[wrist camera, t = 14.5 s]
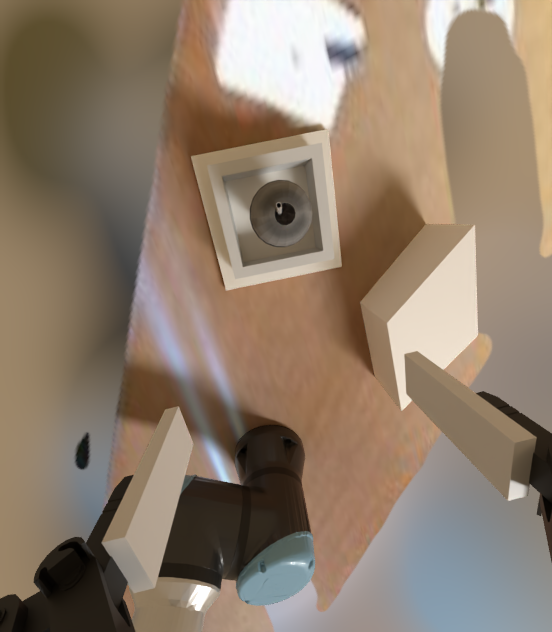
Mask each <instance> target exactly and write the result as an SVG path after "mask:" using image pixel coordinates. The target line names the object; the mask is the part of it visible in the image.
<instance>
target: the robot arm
mask: <svg viewBox="0 0 552 632" xmlns="http://www.w3.org/2000/svg"><path fill="white" fill-rule="evenodd" d="M404 359H405V378H406V394H407V395H408V396H409V397H410V398H411V399H412V400H413V402H414V403H415V404H416V405H417V406H418V407H419V408H420V409H421V410H422V411H423V412H424V413H425V414H426V415H427V416H428V417H429V418H430V419H431V420H432V421H433V423H434V424H435V425H436V426H437V427H438V428H439V429H440V430H441V431H442V432H443V433H444V434H445V435H446V436H447V437H448V438H449V439H450V440H451V441H452V442H453V443H454V445H455V446H456V447H457V448H458V449H459V450H460V451H461V452H462V453H463V454H464V455H465V456H466V457H467V458H468V459H469V460H470V461H471V462H472V464H473V465H475V467H476V468H477V469H478V470H479V471H480V472H481V473H482V474H483V475H484V476H485V477H486V478H487V479H488V480H489V481H490V482H491V483H492V484H493V485H494V487H495V488H496V489H497V490H498V491H499V492H500V493H501V494H502V495H503V496H504V497H505V498H506V499H507V500H508V501H509V500H513V499H517V498H521V497H525V496H528V492H529V485H530V484H531V485H532V486H533V487H534V488H535V489H537V491H538V492H540V497H539V503H538V509H537V515H539V516H541V514H542V516H543V521H544V526H545V531H546V535H547V541H548V546H549V551H550V556H551V561H552V433H550V432H549V431H547V430H546V429H544V428H543V427H541V426H540V425H538V424H537V423H535V422H534V421H532V420H531V419H529V418H528V417H526V416H525V415H523V414H522V413H519V411H517V410H516V409H515V408H513V407H510V406H509V404H507V403H506V402H504V401H502V400H501V399H500V398H498V397H496V396H493V395H491V394H489V393H486V392H484V391H483V392H479V393H474V392H473V391H472V390H470V389H469V388H468V387H466V386H465V385H463V384H462V383H461V382H459V381H458V380H457V379H455V378H454V377H452V376H451V375H450V374H448V373H447V372H446V371H444V370H443V369H441V368H440V367H439V366H437V365H436V364H434V363H433V362H432V361H430V360H429V359H428V358H426V357H425V356H423V355H422V354H421V353H419V352H418V351H415V352H411V353H406V354H404ZM192 448H193V442H192V439H191V436H190V434H189V431H188V429H187V426H186V424H185V421H184V419H183V416H182V414H181V411H180V408H179V406H178V407H173V408H169V409H165V411H164V413H163V415H162V417H161V419H160V421H159V423H158V425H157V428H156V430H155V432H154V434H153V436H152V438H151V440H150V442H149V444H148V446H147V449H146V451H145V453H144V455H143V457H142V459H141V461H140V463H139V465H138V467H137V469H136V472H135V474H134V475H131V476H127V477H124V479H123V480H122V481H121V482H120V483H119V484H118V485H117V487H116V488H115V489H114V491H113V493H112V495H111V497H110V498H109V500H108V504H106V506H105V508H104V510H103V514H101V516H100V518H99V520H98V521H97V523H96V525H95V527H94V529H93V531H92V533H91V535H90V536H89V538H88V540H87V542H86V543H85V541H84V540H83V539H82V538H81V537H74V538H71V539H68V540H66V541H65V542H63V543H61V544H60V545H58V546H57V547H56V548H55V549H54V550H53V551H51V552H50V553H49V554H48V555H47V557H46V558H45V559H44V560H43V562H42V563H41V564H40V566H39V568H38V569H37V571H36V573H35V577H34V583H35V585H36V586H37V587H38V588H39V589H40V592H38V593H36V594H35V595H33V596H31V597H29V598H27V599H25V600H24V601H21V600H20V599H19V597H18V596H16V594H14V595H7V596H5V597H3V598H1V599H0V632H202V630H203V624H204V618H205V614H206V612H207V610H208V609H209V608H210V606H211V605H212V604H213V603H214V602H215V600H216V599H217V598H218V597H219V595H220V589H221V581H222V579H227V580H236V589H237V593H238V596H239V598H240V599H241V600H242V601H245V602H246V603H247V604H250V605H257V606H260V605H269V604H274V603H277V602H280V601H283V600H285V599H288V598H289V597H291V596H293V595H295V594H296V593H298V592H299V591H300V590H302V589H303V588H304V587H305V586H306V585H307V583H308V582H309V581H310V579H311V577H312V575H313V573H314V569H315V556H314V547H313V535H312V534H311V529H310V524H309V519H308V514H307V508H306V503H305V498H304V493H303V488H302V482H301V481H302V474H303V467H304V461H305V454H304V448H303V444H302V441H301V439H300V438H299V436H298V435H297V434H296V433H294V432H293V431H292V430H290V429H288V428H285V427H282V426H275V425H269V426H262V427H258V428H255V429H253V430H251V431H249V432H248V433H246V434H245V435H244V436H243V437H242V438H241V439H240V441H239V442H238V444H237V446H236V450H235V467H236V470H237V474H238V477H239V480H240V484H241V485H239V484H233V483H228V482H223V481H218V480H213V479H208V478H203V477H198V476H197V475H192V476H190V475H185V474H186V470H187V466H188V463H189V459H190V455H191V452H192ZM127 583H128V585H129V590H130V593H131V596H132V599H133V602H134V606H135V611H134V614H133V617H132V620H131V617H130V614H129V611H128V608H127V605H126V602H125V601H124V599H123V595H124V592H125V589H126V586H127Z"/></svg>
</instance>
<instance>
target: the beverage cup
mask: <svg viewBox="0 0 552 632" xmlns="http://www.w3.org/2000/svg"><path fill="white" fill-rule="evenodd" d="M250 222H251V225H252V228H253V230H254V232H255V233H256V235H257V236H258V238H260V239H261V240H262V241H263V242H265V243H266V244H268V245H271V246H274V247H287V246H291V245H294V244H295V243H297V242H298V241H300V240H301V239H302V238H303V237H304V235H305V234H306V233H307V232H308V229H309V227H310V224H311V222H312V207H311V202H310V200H309V198H308V196H307V194H306V192H305V191H304V190H303V189H302V188H301V187H300V186H298V185H297V184H295V183H293V182H291V181H288V180H275V181H272V182H268V183H267V184H265V185H264V186H263V187H261V188H260V189H259V190H258V191H257V193H256V194H255V196H254V197H253V199H252V203H251V206H250Z"/></svg>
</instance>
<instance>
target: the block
mask: <svg viewBox="0 0 552 632" xmlns="http://www.w3.org/2000/svg"><path fill="white" fill-rule="evenodd" d="M360 305H361V310H362V315H363V320H364V326H365V331H366V336H367V341H368V346H369V351H370V356H371V361H372V366H373V371H374V376H375V378H376V379H377V380H378V382H379V383H380V384H381V385H382V387H383V388H384V389H385V391H386V392H387V393H388V395H389V396H390V397H391V398H392V400H393V401H394V402H395V404H396V405H397V406H398V407H399V409H400V410H401V411H402V410H403V409H404V408H405V407H406V406H407V405H408V404H409V403H410V402H411V401H412V399H411V398H410V397H409V396H408V395H407V394H406V378H405V359H404V354H406V353H411V352H415V351H418V352H419V353H421V354H422V355H423V356H425V357H426V358H428V359H429V360H430V361H432V362H433V363H434V364H436V365H437V366H439V367H440V368H441V369H443V370H444V369H445V368H446V367H447V366H448V365H449V364H450V363H451V362H452V361H453V360H454V359H455V358H456V357H457V356H458V355H459V354H460V353H461V352H462V351H463V350H464V349H465V348H466V347H467V346H468V345H469V344H470V343H471V342H472V341H473V340H474V339H475V338H476V337H477V336H478V323H477V285H476V249H475V225H460V224H459V225H458V224H425V225H424V227H423V228H422V229H421V230H420V231H419V233H418V234H417V235H416V236H415V237H414V239H413V240H412V241H411V242H410V243H409V244H408V246H407V247H406V248H405V249H404V250H403V252H402V253H401V254H400V255H399V256H398V258H397V259H396V260H395V261H394V262H393V264H392V265H391V266H390V267H389V268H388V269H387V271H386V272H385V273H384V274H383V275H382V277H381V278H380V279H379V280H378V281H377V283H376V284H375V285H374V286H373V287H372V288H371V290H370V291H369V292H368V293H367V294H366V296H365V297H364V298H363V299H362V300H361V302H360Z"/></svg>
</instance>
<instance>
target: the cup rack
mask: <svg viewBox="0 0 552 632" xmlns="http://www.w3.org/2000/svg"><path fill="white" fill-rule="evenodd" d="M191 159H192V163H193V167H194V171H195V174H196V178H197V182H198V186H199V190H200V193H201V197H202V201H203V205H204V208H205V212H206V216H207V220H208V224H209V227H210V231H211V235H212V239H213V243H214V246H215V250H216V254H217V258H218V261H219V265H220V269H221V273H222V277H223V280H224V284H225V288H226V290H230V289H235V288H240V287H245V286H250V285H255V284H260V283H265V282H270V281H274V280H279V279H284V278H289V277H294V276H299V275H304V274H309V273H314V272H318V271H323V270H328V269H333V268H338V267H342V262H341V252H340V242H339V232H338V222H337V212H336V202H335V192H334V181H333V171H332V161H331V151H330V141H329V131H328V129H325V130H320V131H315V132H310V133H305V134H300V135H295V136H290V137H285V138H280V139H275V140H270V141H265V142H260V143H255V144H250V145H245V146H240V147H235V148H230V149H225V150H220V151H215V152H210V153H205V154H200V155H195V156H191ZM275 180H288V181H291V182H293V183H295V184H297V185H298V186H300V187H301V188H302V189H303V190H304V191H305V192H306V194H307V196H308V198H309V200H310V202H311V207H312V222H311V224H310V227H309V229H308V232H307V233H306V234H305V235H304V237H303V238H302V239H301V240H300V241H298V242H297V243H295V244H294V245H291V246H287V247H274V246H271V245H268V244H266V243H265V242H263V241H262V240H261V239H260V238H258V236H257V235H256V233H255V232H254V230H253V228H252V225H251V222H250V206H251V203H252V199H253V197H254V196H255V194H256V193H257V191H258V190H259V189H260V188H261V187H263V186H264V185H265V184H267V183H268V182H272V181H275Z"/></svg>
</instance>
